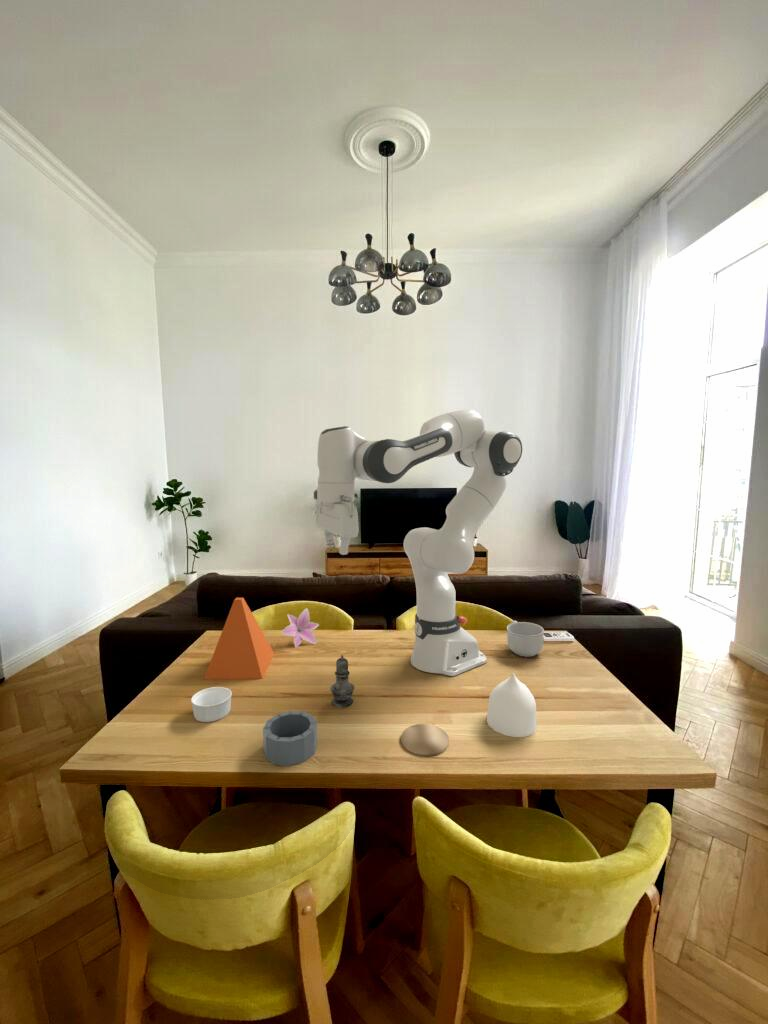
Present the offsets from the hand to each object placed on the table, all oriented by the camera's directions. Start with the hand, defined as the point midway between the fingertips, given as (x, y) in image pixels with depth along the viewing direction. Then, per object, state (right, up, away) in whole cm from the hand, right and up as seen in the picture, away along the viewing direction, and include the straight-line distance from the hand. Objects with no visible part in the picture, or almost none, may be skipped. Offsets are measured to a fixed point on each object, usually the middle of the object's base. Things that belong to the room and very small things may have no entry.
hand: (336, 550), depth 110 cm
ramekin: (-28, -38, -5) cm, 48 cm away
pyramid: (-29, -35, +19) cm, 49 cm away
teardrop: (+40, -38, -9) cm, 56 cm away
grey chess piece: (+2, -37, -1) cm, 37 cm away
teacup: (+55, -34, +29) cm, 71 cm away
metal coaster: (+20, -39, -16) cm, 46 cm away
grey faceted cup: (-7, -39, -18) cm, 44 cm away
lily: (-15, -33, +35) cm, 51 cm away
